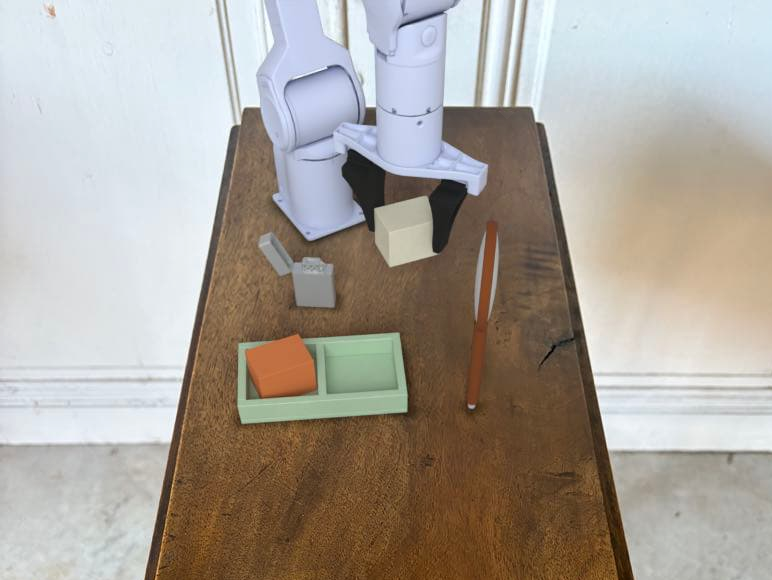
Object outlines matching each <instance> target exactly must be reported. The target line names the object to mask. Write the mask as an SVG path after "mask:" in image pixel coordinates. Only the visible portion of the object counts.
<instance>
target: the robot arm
mask: <svg viewBox="0 0 772 580" xmlns="http://www.w3.org/2000/svg"><path fill="white" fill-rule="evenodd" d="M361 2H362V5H363V8H364V12H365V19H366V33H367V34H368V40H369V42H370V43H371V44H372V45H373V47H374V48H373V49H374V83H375V84H374V85H375V115H376V116H375V118H376V119H375V121H376V123H375V124H376V125H368V124H364V122H365V117H366V110H367V101H366V97H365V92H364V89H363V85H362V82H361V81H360V79H359V77H358V75H357V72H356V68H355V66H354V62H353V59H352V56H351V52H350V50H349V49H348V48H346V47H345V46H343V45H342V44H341V43H339V42H337V41H335V40H333V39H331V37H328V36H326V35H325V33H324V29H323V25H322V24H323V23H322V20H321V15H320V11H319V6H318V2H317V0H263V3H264V7H265V11H266V14H267V19H268V22H269V27H270V31H271V35H272V38H273V45H272V46H271V48H270V50H269V51H268V53H267V55H266V57H265V58H264V60H263V61H262V63H261V64H260V65H259V68H258V69H257V72H256V73H255V77H256V85H257V89H258V96H259V108H260V114H261V119H262V122H263V126H264V128H265V131H266V133H267V135H268V137H269V139H270V141H271V142H272V153H273V158H274V166H275V172H276V173H275V174H276V180H277V186H278V192H276V193H274V194H273V195H272V197H271V198H272V200H273V202H274V203H275V204H276V205H277V206H278V208H279V209H280V210H281V211H282V212H283V214H284V215H285V216H286V217H287V218H288V219H289V221H290V222H291V223H292V224H293V225H294V227H295V228H296V229H297V230H298V231H299V232H300V233H301V235H302V236H303V237H304V238H305V239H306V240H307V241H308V242H312V241H316V240H317V239H321V238H322V237H326V236H328V235H331V234H334V233H336V232H339V231H342V230H344V229H347V228H349V227H352V226H355V225H358V224H360V223H364V222H365V223H366V225H367V229H368V231H369V232H371V233H375V221H374V208H378V207H382V206H386V196H385V194H386V193H385V184H386V174H387V173H390V174H393V175H397V176H402V177H411V178H413V177H414V178H426V179H436V180H440V183H439V184H438V185H437V186H436V187H435V188H434V190H433V191H432V192H431V194H430V195H429V196H428V199H429V204H430V207H431V212H432V219H433V237H432V249H433V252H434V253H437V254H438V255H441V254H440V253H442V252H443V250H444V249H445V248H446V247H447V245H448V244H449V240H450V236H451V232H452V229H453V226H454V223H455V220H456V218H457V215H458V213H459V211H460V209H461V207H462V205H463V203H464V201H465V200H466V198H467V196H468V194H469V195H471V196H476V197H478V196H479V195H480V194H481V193H482V191H483V190H484V188H485V187H486V186H487V181H488V172H489V164H487V163H485V162H481V161H479V160H476V159H474V158H472V157H471V156H469V155H468V154H466V153H464V152H462V150H459V149H458V148H456V147H454V146H453V145H451V144H449V143H448V142H447V141H445V140H443V123H444V122H443V121H444V120H443V119H444V118H443V117H444V98H445V80H446V79H445V77H446V74H445V73H446V58H447V38H448V37H447V35H448V34H447V33H448V13H447V11H449V10H450V9H454V8H456V7H457V6H458V5H459V4H460V2H461V0H361ZM353 193H354V195H355V198H356V200H357V202H358V203H357V202H356V201H355V199H354V196H353Z"/></svg>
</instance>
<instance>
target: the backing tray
mask: <svg viewBox="0 0 772 580" xmlns="http://www.w3.org/2000/svg"><path fill="white" fill-rule="evenodd" d="M400 334H401V333H400V332H385V333H372V334H371V333H370V334H355V335H354V334H353V335H340V336H338V335H337V336H325V337H309V338H301V339H302V341H303V343H304V344H305V346H306V348H307V350H308V351H309V353H310V355H311V357H312V359H313V360H314V367H315V375H316V383H317V390H315V391H312V392H309V393H306V394H303V395H300V396H296V397H281V398H267V399H260V397H259V395H258V393H257V391H256V389H255V387H254V385H253V383H252V381H251V378H250V374H249V369H248V365H247V360H246V356H245V350H249V349H252V348H255V347H258V346H261V345H264V344H267V343H270V342H274V341H277V340H278V339H277V340H264V341H263V340H262V341H248V342H247V341H246V342H238V346H237V347H238V348H237V349H238V351H237V352H238V354H237V358H238V359H237V400H236V401H237V402H236V403H237V405H236V406H237V411H238V414H239V419H240V422H241V424H242V425H245V424H259V423H260V424H262V423H274V422H287V421H301V420H316V419H330V418H344V417H345V418H347V417H359V416H375V415H387V414H388V415H389V414H401V413H408V405H409V404H408V402H409V401H408V398H409V397H408V395H409V394H408V388H407V387H408V386H407V379H406V372H405V364H404V356H403V349H402V343H401V335H400Z"/></svg>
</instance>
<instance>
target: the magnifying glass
mask: <svg viewBox="0 0 772 580" xmlns="http://www.w3.org/2000/svg"><path fill="white" fill-rule="evenodd" d="M485 227H486V228H485V231H484V234H483V237H482V240H481V244H480V247H479V253H478V258H477V264H476V272H475V281H474V316H475V317H474V318H475V319H474V322H473V328H472V329H473V330H472V340H471V347H470V359H469V367H468V368H469V369H468V375H467V376H468V377H467V387H466V397H465V402H466V404H467V407H468V408H469V409H471V410H472V409H475V408H476V405H477V404H478V403H479V397H480V390H481V382H482V375H483V368H484V367H483V366H484V359H485V351H486V345H487V344H486V343H487V335H488V327H489V319H490V316H491V313H492V310H493V305H494V301H495V295H496V290H497V284H498V283H497V282H498V274H499V273H498V272H499V259H500V258H499V253H500V249H499V246H500V245H499V235H498V229H499V223H498V221H497V220H493V219H490V220H487V222H486V225H485Z"/></svg>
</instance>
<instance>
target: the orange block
mask: <svg viewBox="0 0 772 580" xmlns="http://www.w3.org/2000/svg"><path fill="white" fill-rule="evenodd" d="M302 339H303V338H302V337H301V336H300V334H299V333H296V334H293V335H290V336H286V337H283V338H280V339H277V341H276V340H273V341H274V342H270V343H267V344H264V345H261V346H258V347H255V348H252V349H249V350H245V356H246V360H247V365H248V369H249V374H250V378H251V381H252V383H253V385H254V387H255V389H256V391H257V393H258V395H259V397H260V399H267V398H281V397H296V396H300V395H303V394H306V393H309V392H312V391H315V390H317V383H316V375H315V367H314V360H313V359H312V357H311V355H310V353H309V351H308V350H307V348H306V346H305V344H304V343H303V341H302Z"/></svg>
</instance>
